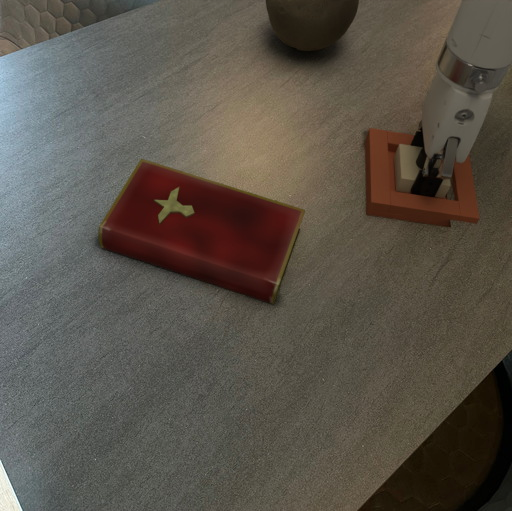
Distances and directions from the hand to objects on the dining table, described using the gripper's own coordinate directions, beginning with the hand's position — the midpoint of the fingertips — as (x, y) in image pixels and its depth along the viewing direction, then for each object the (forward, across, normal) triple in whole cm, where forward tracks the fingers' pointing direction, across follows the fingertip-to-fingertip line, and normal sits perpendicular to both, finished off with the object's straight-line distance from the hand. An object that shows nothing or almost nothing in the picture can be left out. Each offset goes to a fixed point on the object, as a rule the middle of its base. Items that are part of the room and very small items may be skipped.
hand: (420, 173), depth 84 cm
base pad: (+2, 0, 0) cm, 2 cm away
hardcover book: (+2, -15, +27) cm, 31 cm away
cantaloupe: (+2, +27, +17) cm, 32 cm away
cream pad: (+1, 0, 0) cm, 1 cm away
